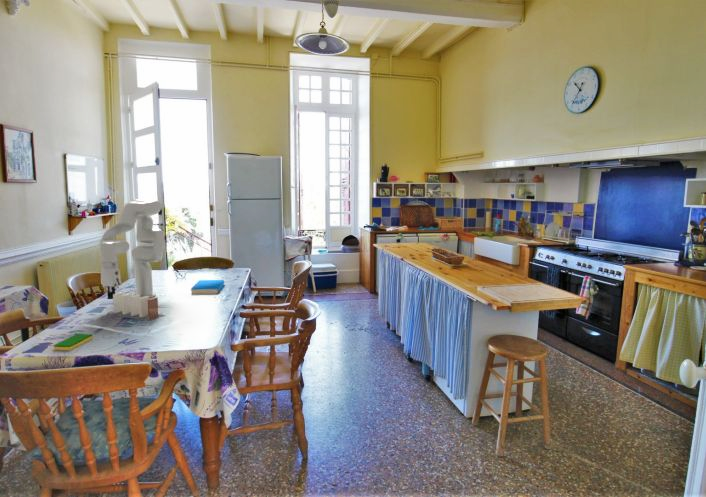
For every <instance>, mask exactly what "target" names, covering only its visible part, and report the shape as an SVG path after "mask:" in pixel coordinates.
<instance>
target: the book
mask: <svg viewBox="0 0 706 497" xmlns="http://www.w3.org/2000/svg"><path fill="white" fill-rule="evenodd" d="M224 285H225V281H224V279H204V280H203V279H202V280H201V279H200V280H198V281H197V282H196V283H195V284H194V285H193V286H192V287H191V288H190V291H191V294H192V295H211V294H212V295H213V294H214V295H215V294H216V295H217V294H218V293H219V292H220V291H221V290H222V288H223V287H224Z"/></svg>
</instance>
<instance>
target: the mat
mask: <svg viewBox="0 0 706 497" xmlns="http://www.w3.org/2000/svg"><path fill="white" fill-rule="evenodd" d="M106 315H111V316H116V317H117V316H118V317H122V318H129V319H134V320H140V321H146V322H151V321H154V320H157V319H160V318H162V317H166V314H162V313H158V317H155V318H152V319H148V315H147V316H145V317H139V314H137V315H134V316H131V313H128V314H122V311H121V312H118V313H114V310H113V311H109V312H107V313H106Z"/></svg>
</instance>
